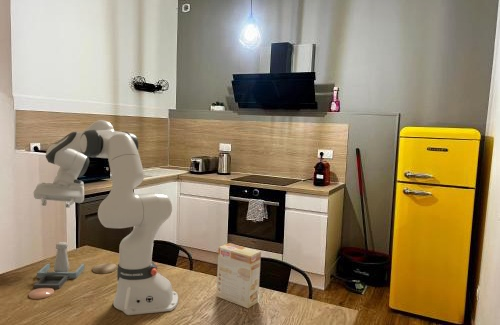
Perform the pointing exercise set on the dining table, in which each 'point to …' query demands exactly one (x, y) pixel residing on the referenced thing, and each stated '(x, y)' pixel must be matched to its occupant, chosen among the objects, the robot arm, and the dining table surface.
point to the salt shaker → (61, 258)
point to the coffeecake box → (238, 274)
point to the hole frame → (51, 281)
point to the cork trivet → (105, 268)
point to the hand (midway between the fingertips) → (55, 205)
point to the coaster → (41, 293)
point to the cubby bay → (70, 274)
